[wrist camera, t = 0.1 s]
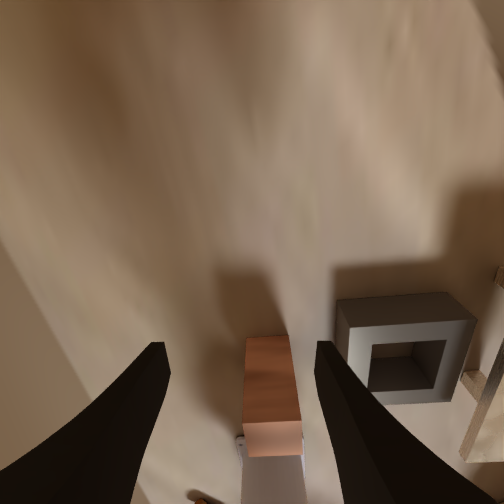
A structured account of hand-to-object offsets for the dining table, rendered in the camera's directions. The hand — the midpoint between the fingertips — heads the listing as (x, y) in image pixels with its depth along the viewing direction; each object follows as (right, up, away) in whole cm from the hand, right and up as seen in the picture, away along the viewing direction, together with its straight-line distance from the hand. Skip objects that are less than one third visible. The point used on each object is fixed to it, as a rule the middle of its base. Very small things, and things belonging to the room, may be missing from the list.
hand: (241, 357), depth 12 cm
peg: (+2, -5, +13) cm, 14 cm away
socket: (+13, -3, +12) cm, 18 cm away
